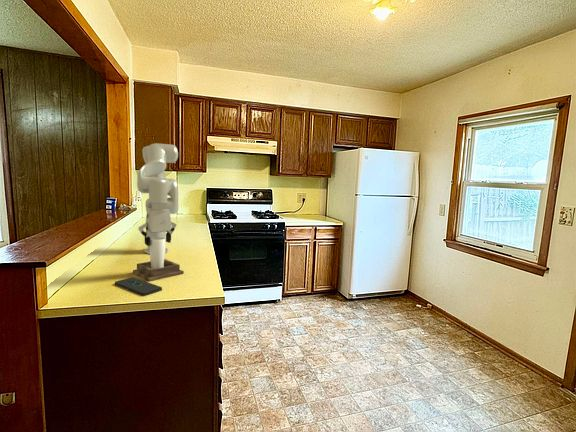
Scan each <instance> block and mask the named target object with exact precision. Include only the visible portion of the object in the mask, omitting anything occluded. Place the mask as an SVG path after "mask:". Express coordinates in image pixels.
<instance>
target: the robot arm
mask: <svg viewBox="0 0 576 432" xmlns="http://www.w3.org/2000/svg"><path fill="white" fill-rule="evenodd" d="M178 151H179V150H178V148H177V146H176V145H174V144H170V143H169V144H168V143H167V144H166V143H151V144H150V145H146V146H143V148H142V158H143V162H144V163H145V164H143V165H142V167H141V168H140V169H139V170H138V172H137V179H136V180H137V182H136V189H137V190H138V192H139V193H140V194H141V193H142V194H148V198H147V199H146V200H145V212H146V215H145V216H146V217H145V223H144V224H142V225H140V226H138V230H139V232H140V234H141V235H143V237H144V244H145V245H146V247H147V248H146V249H144V253H145V254H147V255H150V250H149V246H150V238H154V237H163V238H165V243H169V244H170V243H171V242H172V241H171V240H172V234H173V233H174V231H175V230H176V226H177V223H175V222H173V221H172V220H171V219H172V218H171V215H175V214H177V213H178V212H179V185H178V184H179V182H178V181H177V180H176V179H173V178H166V177H165V170H166V169H167V163H168V164H169V163H170V164H175V163H176V162H177V160H178V158H179V152H178ZM168 196H169V197H168ZM144 229H145V230H144ZM168 252H169V249H168V248H167V247H165V254H166V253H168Z"/></svg>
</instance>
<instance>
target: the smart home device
mask: <svg viewBox="0 0 576 432" xmlns="http://www.w3.org/2000/svg"><path fill="white" fill-rule="evenodd" d="M114 286H117V287H120V288H121V289H125V290H127V291H129V292H132V293H135V294H137V295H139V296H141V297H147V296H149V295H152V294H156V293H158V292H161V291H163V287H162V286H159V285H157V284H154V283H151V282H150V281H147V280H146V281H145V280H143V279H140V278H136V277H134V276H131V277H127V278H124V279H123V278H122V279H120V280H116V281H114Z"/></svg>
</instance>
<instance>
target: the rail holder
mask: <svg viewBox="0 0 576 432" xmlns="http://www.w3.org/2000/svg"><path fill="white" fill-rule="evenodd" d="M132 273H133V274H134V275H136V276H138V277H139V278H142V279H144V280H146V281H147V282H154V281H157V280H163V279H167V278H171V277H175V276H180V275H184V273H185V272H184V270H183V269H182V270H181V266H180V264H178V263H175V262H173V261H171V260H169V259H166V258H164V267H162V268H157V269H151V260H150V261H145V262H139V263H136V269H133V270H132Z"/></svg>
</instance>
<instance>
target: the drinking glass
mask: <svg viewBox="0 0 576 432" xmlns="http://www.w3.org/2000/svg"><path fill="white" fill-rule="evenodd" d="M165 248H166V237H165V238H163V237H154V238H150V246H149V250H150V254H149V258H150V261H151V269H157V268H162V267H164V259H165V257H166V256H165V255H166V253H165Z"/></svg>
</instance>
